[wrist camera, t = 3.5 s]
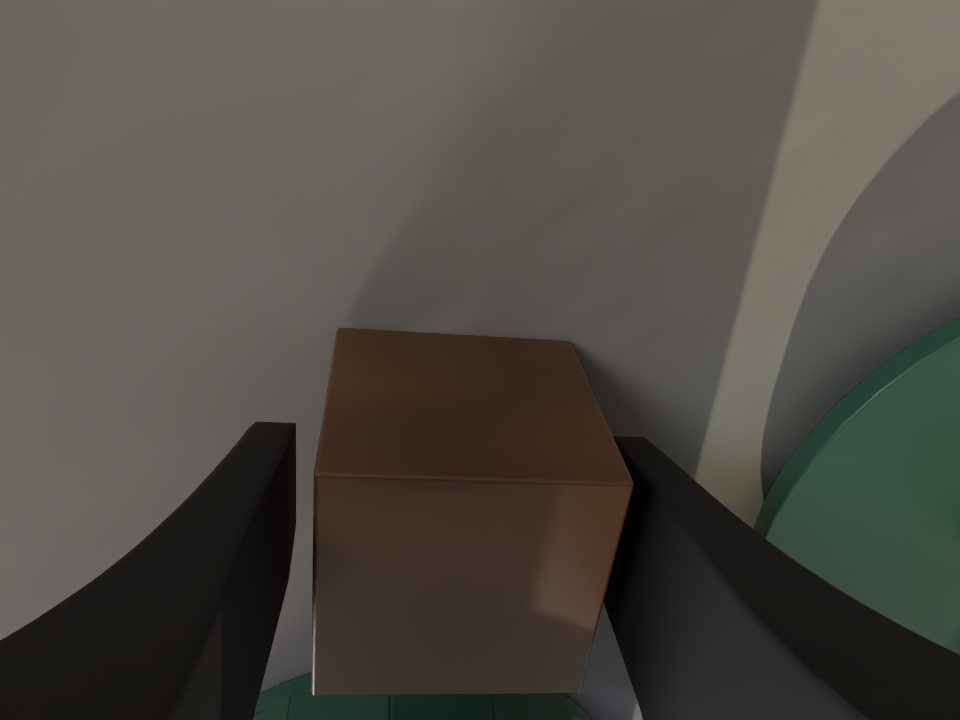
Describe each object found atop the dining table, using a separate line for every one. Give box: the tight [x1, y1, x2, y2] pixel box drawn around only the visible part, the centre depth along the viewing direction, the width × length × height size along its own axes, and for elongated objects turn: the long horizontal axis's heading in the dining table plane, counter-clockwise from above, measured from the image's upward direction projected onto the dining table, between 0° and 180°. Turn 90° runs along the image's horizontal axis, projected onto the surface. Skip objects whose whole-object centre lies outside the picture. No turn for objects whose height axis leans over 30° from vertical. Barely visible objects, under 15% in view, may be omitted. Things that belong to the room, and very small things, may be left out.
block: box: [311, 328, 634, 696], centre depth 12 cm, size 4×4×4 cm
